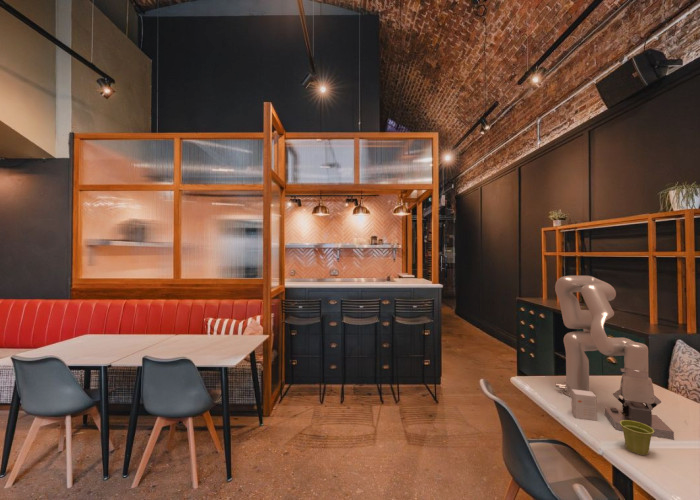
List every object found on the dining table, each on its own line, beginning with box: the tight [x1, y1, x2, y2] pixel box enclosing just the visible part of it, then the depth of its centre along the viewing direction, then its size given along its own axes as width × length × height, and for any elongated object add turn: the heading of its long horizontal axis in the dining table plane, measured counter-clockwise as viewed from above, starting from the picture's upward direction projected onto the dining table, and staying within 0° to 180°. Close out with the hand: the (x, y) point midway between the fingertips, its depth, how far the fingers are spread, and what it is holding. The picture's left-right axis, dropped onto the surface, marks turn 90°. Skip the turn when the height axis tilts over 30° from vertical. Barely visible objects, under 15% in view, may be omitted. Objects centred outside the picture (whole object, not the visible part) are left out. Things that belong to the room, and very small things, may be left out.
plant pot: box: [620, 420, 654, 456], centre depth 119 cm, size 9×9×9 cm
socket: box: [603, 406, 675, 440], centre depth 135 cm, size 18×14×4 cm
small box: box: [571, 389, 598, 421], centre depth 143 cm, size 8×6×10 cm
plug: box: [624, 401, 653, 425], centre depth 135 cm, size 6×9×9 cm
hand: (636, 416), depth 135 cm, fingers closed on plug, 6 cm apart
